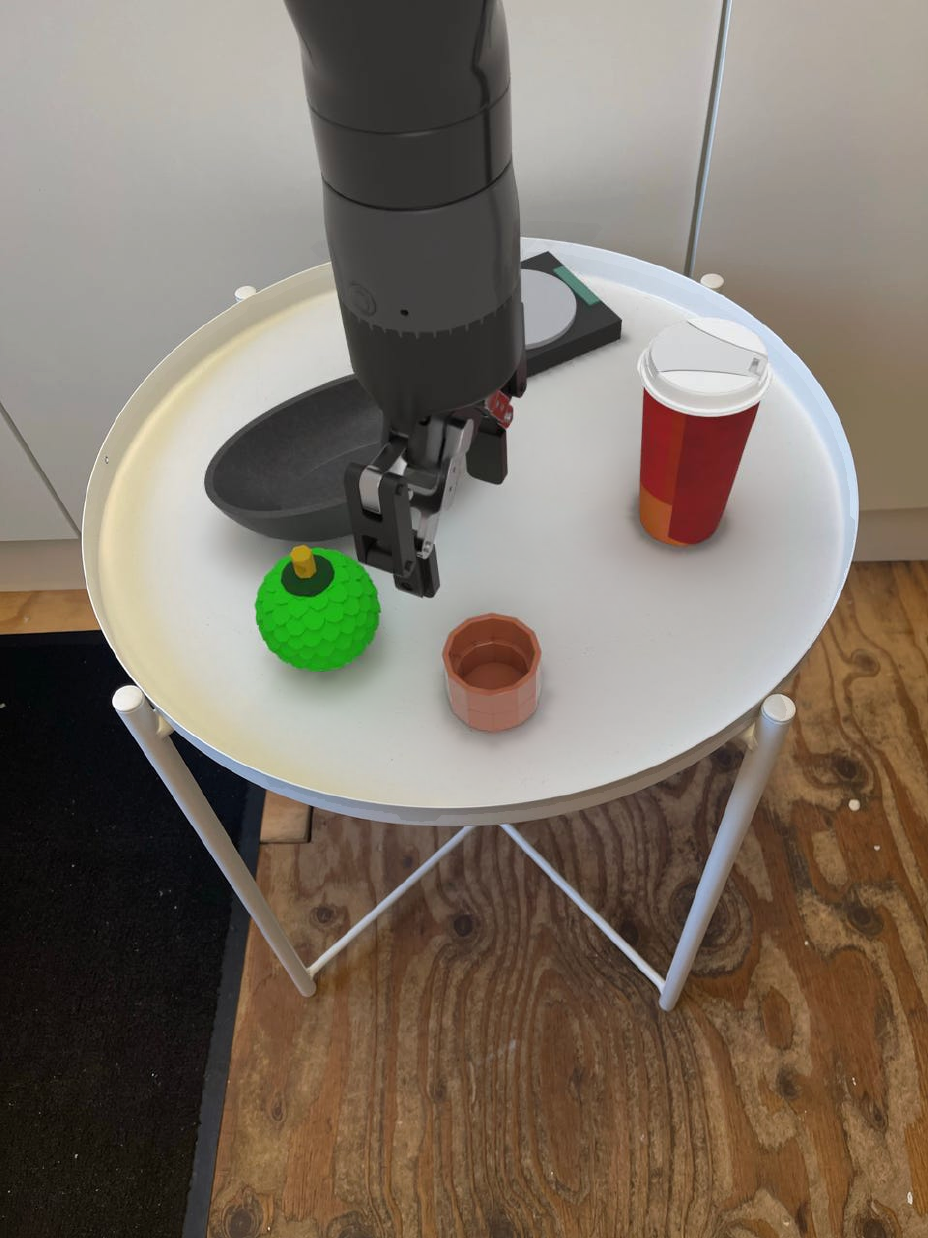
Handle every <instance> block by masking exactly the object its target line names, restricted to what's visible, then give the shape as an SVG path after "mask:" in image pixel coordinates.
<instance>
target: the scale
mask: <svg viewBox="0 0 928 1238" xmlns="http://www.w3.org/2000/svg"><path fill="white" fill-rule="evenodd" d="M521 302H523V305H524V325H525V349H526V372H527V379H528V378H530V377H532V376H533V377H534V376H535V375H538V374H540V373H542V372H545V371H547V370H550V369H552V368H554V367H557V366H559V365H561V364H563V363H566V362H568V361H571V360H573V359H575V358H578V357H580V356H583V355H585V354H588V353H590V352H592V351H594V350H596V349H599V348H601V347H603V346H607V345H609V344H611V343H613V342H616V341H618V340H620V339H621V337H622V325H623V319H622V318H621V317H620V316H619V315H618V314H617V313H616V312H615V311H613V310H612V309H611V307H609V306H608V305H607V304H606V303H605V302H604V301H603V300H601V298H600V297H599V296H597V294H596V293H594V292H593V291H592V290H591V289H590V288H589V287H588V286H587V285H586V284H585V283H584V282H583V281H582V280H581V279H579V278H578V277H577V276H576V275H575V274H574V273H573V272H572V271H571V270H570V269H569V268H568V267H566V266H565V265H564V264H563V263H562V262H561V261H560V260H559V259H558V258H557V257H555V256H554V254H553V253H552V252H550V251H549V250H546V251H544V252H541V253H539V254H535V255H534V256H530V257H529V258H526V259H523V260H521Z"/></svg>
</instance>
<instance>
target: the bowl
mask: <svg viewBox="0 0 928 1238" xmlns="http://www.w3.org/2000/svg"><path fill="white" fill-rule="evenodd" d="M381 428H382V411H381V409H380V407H379V406H378V405H377V403H376V402H375V401H374V400H373V398H372V397H371V396H370V395H369V394H368V392H367V391H366V390H365V389H364V388H363V387H362V385H361V384H360V383H359V381H358V380H357V378H356V376H355V374H354V373H351V374H348V375H345V376H341V377H338V378H335V379H334V380H330V381H327V382H324V383H322V384H319V385H317V386H315V387H312V388H309V389H307V390H305V391H303V392H300V393H299V394H297V395H294V396H293V397H290V398H288V399H287V400H284V401H282V402H280V403H278V404H277V405H275V406H273V407H271V408H269V409H268V410H266V411H264V412H263V413H261V414H259V415H258V416H257V417H255V418H254V419H252V420H250V421H249V422H248V423H246V424H245V425H244V426H242V427H241V428H239V430H237V431H236V432H235V433H233V434H232V435H231V436H230V437H229V438H228V439H227V440H226V441H225V442H224V443H223V444H222V445H221V446H220V447H219V448H218V450H217V451H216V452H215V454H214V455H213V457H212V458H211V459H210V462H209V463H208V464H207V467H206V470H205V473H204V478H203V487H204V491H205V494H206V496H207V498H208V499H209V501H210V502H211V503H212V504H213V505H214V506H215V507H217V509H218V510H219V511H221V512H222V513H223V514H224V515H225V516H226V517H228V518H229V519H231V520H232V521H233V522H235V523H236V524H238V525H241V526H242V528H245V529H247V530H250V531H252V532H254V533H256V534H259V535H262V536H265V537H268V538H272V539H275V540H282V541H289V542H297V543H298V542H299V543H315V542H324V541H330V540H336V539H340V538H344V537H348V536H352V535H353V532H352V526H351V521H350V515H349V510H348V504H347V498H346V493H345V487H344V474H345V471H346V468H347V466H348V465H349V463H350V462H352V461H357V462H360V463H363V464H366V465H370V464H371V463H372V462H373V460H374V459H375V458H376V457H377V455H378V454H379V453H380V451H381V450H382V447H381V442H380V436H381ZM403 476H405V477H406V478H407V483H409V484H413V485H416V486H419V487H422V488H425V489H429V490H432V491H433V489H435V488H436V484H437V479H438V477H433V476H430V475H427V474H423V473H420V472H417V471H414V470H411V469H409V468H407V467H405V470H404V473H403ZM410 508H412V507H411V506H410Z"/></svg>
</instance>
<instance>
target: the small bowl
mask: <svg viewBox="0 0 928 1238" xmlns="http://www.w3.org/2000/svg"><path fill="white" fill-rule="evenodd" d="M441 657H442V658H441V659H442V665H443V672H444V673H443V674H444V679H445V686H446V692H447V696H448V700H449V704H450V707H451V711H452V712H453V713H454V714H455V715H456V716H457V717H458V718H459V719H461V721H463V722H464V723H465V724H466V725H467V726H469V728H474V729H479V730H481V731H488V732H491V733H495V732H500V731H504V730H508V729H512V728H516V727H518V726H520V725H522V723H523V722H524V721H526V720H527V719H528V718H529V717H530V716H531V715H532V714H534V713H535V712H536V710H537V707H538V703H539V701H540V697H541V693H542V671H543V670H542V669H543V668H542V667H543V666H542V662H543V661H542V660H543V659H542V657H543V653H542V648H541V646H540V643H539V640H538V638H537V635H536V632H535V631H534V630H533V629H532V628H530V627H529V626H528V625H527V624H525V623H524V622H522V621H521V620H520V619H519V618H517V617H515V616H510V615H505V614H501V613H495V612H488V613H485V614H480V615H476V616H472V617H468V618H465V620H464V621H462V622H461V623H460V624H459V625H457V626H456V627H455V628H454V629H453V630H452V631H450V632H449V634H448V636H447V639H446V641H445V643H444V646H443V649H442V652H441Z"/></svg>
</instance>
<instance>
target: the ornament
mask: <svg viewBox="0 0 928 1238" xmlns="http://www.w3.org/2000/svg"><path fill="white" fill-rule="evenodd" d="M256 595H257V597H256V599H255V602H254V608H255V611H256V612H255V622H256V625H257V626H258V631H259V633H260V636H261V638H262V640H263V642H265V644H266V646H267V648H268V650H269V651H270V652H271V653H272V654H275V655H276V656H277V658H279V659H280V661H281V662H283V663H285V664H289V665H290V666H292V668H295V669H298V670H303V669H305V670H308V671H309V672H313V673H314V672H315V673H318V672H329V671H330V672H331V671H332V670H338V669H342V668H343V667H345V666H346V665H347V664H350V663H353V662H354V661H355V659H356V658H358V657H360V656H361V655H362V654H364V652H365V651H366V649H367V647H368V645H370V644H371V643H372V642H373V641H374V638H375V635H376V631H377V629H378V628H379V625H380V615H379V614H380V613H382V611H381V603H380V601H379V596H378V595H379V591H378V588H377V586H376V585H375V583H374V581H373V579H372V578H371V575H370V573H369V572H368V571H366V568H365V567H364V566H363V565H362V564H361V563H359V562H358V560H357V559H354V558H352V557H350V556H348V555H346V554H344V553H342V552H341V551H339V550H336V549H324V548H323V547H312V548H310V547H308V546H307V545H306V544H301V545H298V546H294V547H293V548H292V549H291V552H290V554H289V555H287V556H284V557H283V558H280V559H279V560H278V561H277V562H276V563H275V564H274V566H273V567H272V568H271V570H269V571H268V572H267V573H266V574H265V575H264V576H263V580H262V582H261V584H260V586H259V587H258V590H257V592H256Z"/></svg>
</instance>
